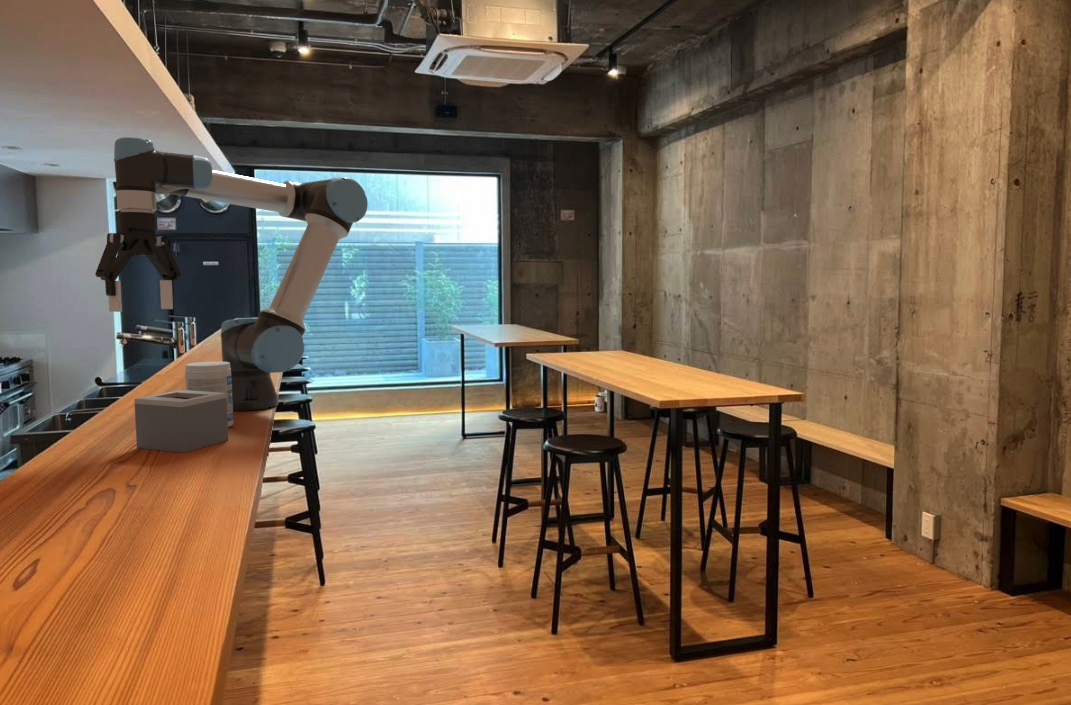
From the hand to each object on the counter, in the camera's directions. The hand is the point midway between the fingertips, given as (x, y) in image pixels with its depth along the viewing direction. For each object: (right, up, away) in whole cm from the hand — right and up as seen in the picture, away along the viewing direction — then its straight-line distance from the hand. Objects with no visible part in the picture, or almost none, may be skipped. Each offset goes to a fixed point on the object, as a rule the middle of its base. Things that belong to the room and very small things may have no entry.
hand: (142, 310), depth 162 cm
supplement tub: (+13, -27, +6) cm, 30 cm away
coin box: (+14, -28, -11) cm, 33 cm away
